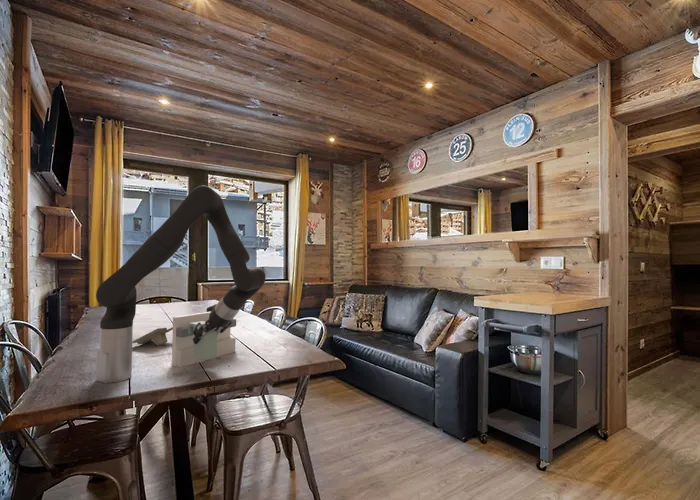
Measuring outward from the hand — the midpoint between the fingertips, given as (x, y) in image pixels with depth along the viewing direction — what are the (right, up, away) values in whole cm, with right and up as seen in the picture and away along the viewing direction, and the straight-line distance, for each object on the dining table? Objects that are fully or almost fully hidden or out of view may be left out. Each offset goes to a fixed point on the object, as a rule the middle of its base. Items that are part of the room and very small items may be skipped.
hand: (201, 340), depth 133 cm
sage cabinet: (0, -6, 0) cm, 6 cm away
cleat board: (-5, -11, +14) cm, 18 cm away
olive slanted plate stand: (-36, -11, +33) cm, 50 cm away
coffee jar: (-8, -11, +36) cm, 39 cm away
